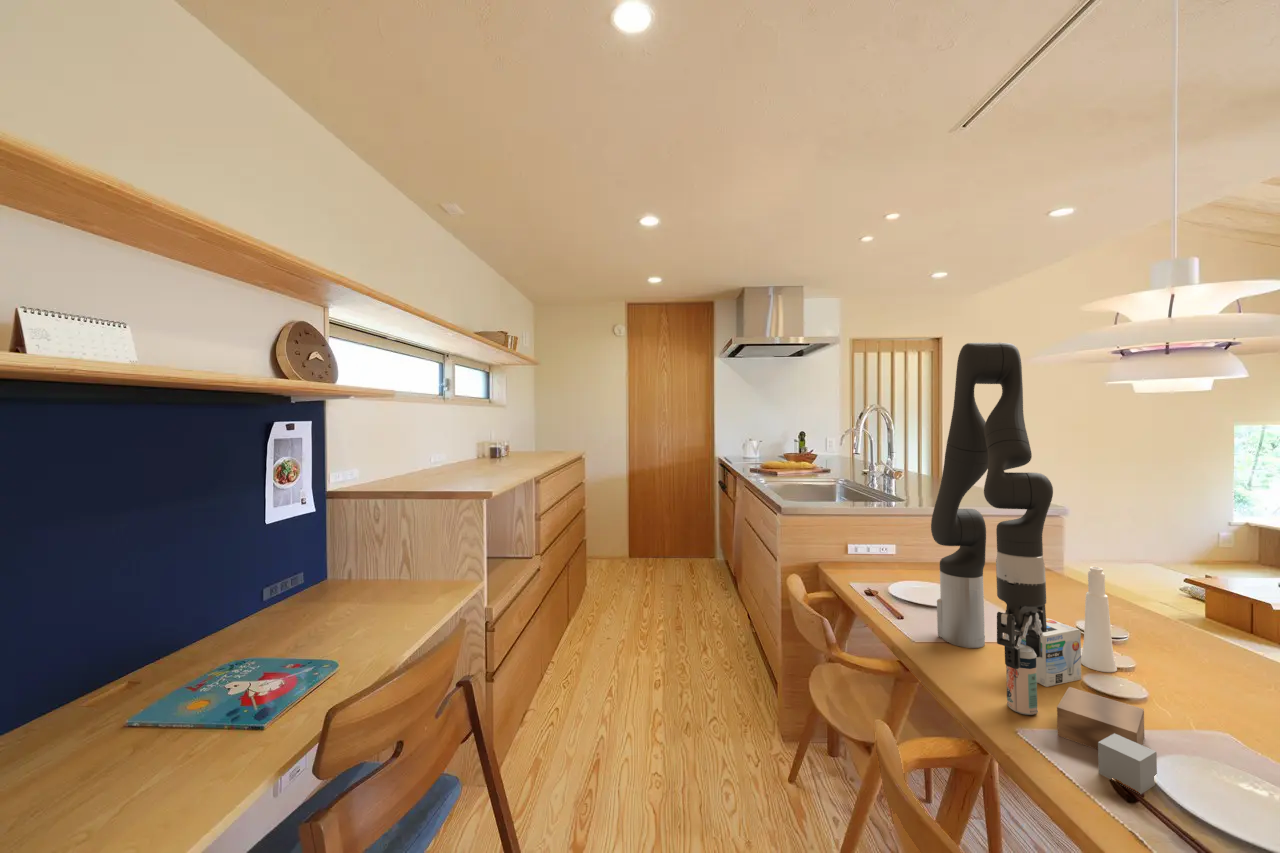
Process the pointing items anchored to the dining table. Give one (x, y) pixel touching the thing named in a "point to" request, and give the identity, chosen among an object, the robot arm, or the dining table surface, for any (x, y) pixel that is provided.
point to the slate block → (1127, 762)
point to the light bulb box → (1058, 654)
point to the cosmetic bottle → (1097, 625)
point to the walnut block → (1097, 718)
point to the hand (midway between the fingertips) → (1023, 661)
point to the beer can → (1023, 683)
